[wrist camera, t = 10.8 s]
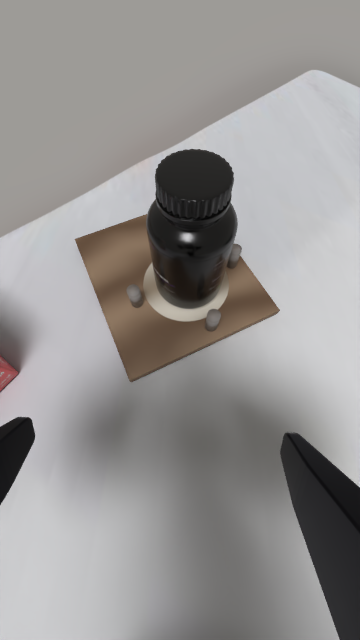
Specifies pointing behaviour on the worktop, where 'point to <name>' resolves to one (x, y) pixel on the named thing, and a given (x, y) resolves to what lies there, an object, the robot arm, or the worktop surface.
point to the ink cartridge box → (6, 372)
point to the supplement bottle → (191, 226)
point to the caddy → (163, 301)
